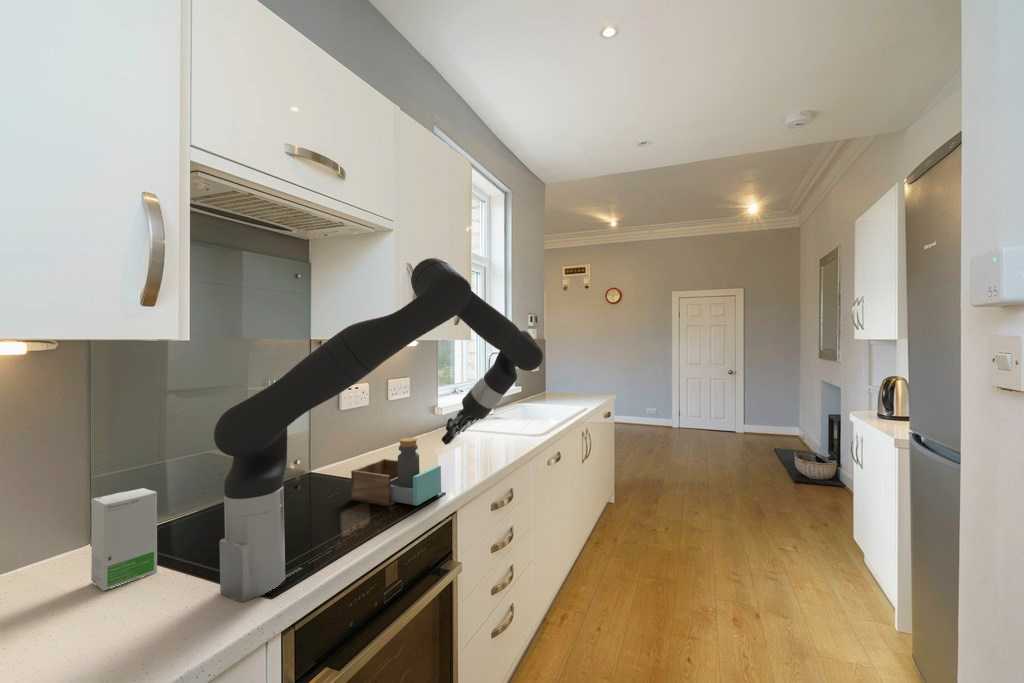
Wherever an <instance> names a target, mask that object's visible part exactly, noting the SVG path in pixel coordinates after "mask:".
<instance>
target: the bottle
mask: <svg viewBox="0 0 1024 683" xmlns="http://www.w3.org/2000/svg"><path fill="white" fill-rule="evenodd" d="M417 440H418V439H417V438H416V437H405V438H404V437H403V438H400V439H399V446H398V451H400V453H399V454H398V455H397V460H398V486H399V487H406V488H412V489H413V476H415V475H417V474H420V473H421V472H420V455H419V453H418V452H417V450H418V448H419V447H418V445H417Z"/></svg>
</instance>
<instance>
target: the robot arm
mask: <svg viewBox="0 0 1024 683" xmlns="http://www.w3.org/2000/svg"><path fill="white" fill-rule="evenodd" d="M410 276H411V277H410V284H411V289H412V290H413V292H414V294H415V296H416V297H415V298H414V299H413V300H411V301H410V302H409V303H407V304H406V305H404V306H403V307H402V308H400V309H399V310H396V311H394V312H393V313H390V314H387V315H384V316H380V317H376V318H375V317H374V318H372V319H366V320H362V321H360V322H356V323H352V324H351V325H348V326H346V327H345V328H343V329H342V330H341V331H339V332H337V333H336V334H334V336H332V337H331V338H329V339H328V340H326V341H325V342H324V343H322V344H321V345H319V347H317V348H316V349H315V350H313V351H312V352H310V354H308V355H306V357H304V359H302V360H301V361H299V362H298V363H297V364H295V366H293V367H292V368H291V369H290V370H288V372H286V373H285V374H284V375H283V376H282V377H281V378H279V379H278V380H276V381H274V382H273V383H272V384H270V385H269V386H268V387H266V388H264V389H262V390H261V391H259V392H257V393H255V394H254V395H252V396H250V397H249V398H246V399H244V400H243V401H241V402H239V403H238V404H235V405H234V406H232V407H230V408H229V409H227V410H226V411H225V412H223V414H221V416H220V417H219V419H218V421H217V422H216V424H215V427H214V432H213V441H214V444H215V446H216V447H217V449H218V450H219V451H220V452H221V453H223V454H225V455H227V456H230V457H233V460H232V463H231V467H230V469H229V472H227V473H228V474H227V475H226V478H225V479H224V483H223V489H224V490H223V492H224V494H223V495H224V496H223V498H224V500H223V501H224V538H223V537H222V539H220V540H219V581H220V582H219V583H220V584H219V586H220V587H219V589H220V593H219V594H220V595H222V596H224V597H227V598H230V599H233V600H235V601H238V602H241V603H243V602H246V601H248V600H251V599H254V598H257V597H261V596H264V595H266V594H265V593H267V592H269V591H271V590H272V589H275V588H276V587H278V586H279V585H280V584H281V583H282V582H283V581H284V582H285V579H286V556H285V554H286V553H285V552H286V551H285V550H286V548H285V547H286V546H285V544H286V543H285V542H286V541H285V501H284V499H285V496H284V495H285V494H284V492H285V490H284V489H285V488H284V478H285V473H286V469H287V464H288V462H287V461H288V427H289V426H290V425H292V424H293V423H294V422H295V421H296V420H297V419H299V418H300V417H302V416H304V414H306V413H307V412H309V411H310V410H312V409H314V408H317V406H319V405H321V404H323V403H325V402H327V401H329V400H331V399H332V398H334V397H335V396H338V395H339V394H342V392H344V391H346V390H347V389H350V387H352V386H354V385H355V384H356V383H358V382H359V381H361V380H362V379H364V378H365V377H366V376H368V375H369V374H371V373H372V372H373V371H374V370H375V369H377V368H378V367H379V366H381V365H382V364H383V363H384V362H386V361H387V360H389V359H390V358H392V357H393V356H394V355H396V354H398V352H400V351H402V350H403V349H405V348H406V347H407V346H409V345H410V344H411V343H413V342H414V341H416V340H418V339H420V338H421V337H422V336H424V335H426V334H428V333H429V332H431V331H433V330H434V329H436V328H437V327H439V326H441V325H443V324H444V323H446V322H448V321H450V320H451V319H452V318H454V317H455V316H456V317H457V318H459V319H460V320H461V321H462V322H464V323H465V324H466V326H468V327H469V328H470V329H471V330H472V331H473V332H474V333H475V334H476V335H477V336H479V337H480V338H482V339H483V340H484V341H485V342H486V343H487V344H489V345H491V346H492V347H494V348H495V349H497V350H499V352H498V354H497V356H496V358H495V360H494V363H493V365H492V366H490V368H489V369H488V371H486V372H485V374H484V375H483V376H482V377H481V378H480V379H479V380H478V381H477V382H476V383H475V384H474V385H473V387H471V389H470V390H469V391H468V392H467V394H466V395H465V396H464V397H463V399H462V401H461V405H462V409H460V410H459V411H458V412H457V413H456V415H455V417H454V418H452V417H450V418H448V419H447V423H446V426H445V430H446V432H445V434H444V435H443V436H442V437H441V442H442V443H443V444H444V445H449V444H451V443H452V442H453V441H454V439H455V438H456V437H457V436H459V435H460V434H461V433H464V432H465V431H467V429H469V428H471V426H473V425H474V424H475V423H476V422H478V421H479V420H484V419H485V418H486V417H487V416H488V415H489V414H490V413H491V412H492V411H493V409H494V408H495V407H497V405H498V404H499V403H500V402H501V400H502V399H503V397H504V395H505V394H506V393H507V392H508V391H509V390H510V388H512V386H513V385H514V384H515V383H516V381H517V378H518V375H517V371H516V367H517V368H518V369H520V370H521V371H525V372H530V371H531V372H532V371H535V370H536V369H538V368H539V367H540V366H541V364H542V363H543V359H544V354H543V350H542V349H541V347H540V346H539V345H538V343H537V342H536V341H535V339H534V338H533V336H532V335H531V334H530V332H528V331H526V330H522V329H519V328H518V326H517V325H516V324H515V323H514V322H512V321H511V320H510V319H509V318H507V317H506V315H504V314H502V313H501V312H500V311H499V310H498V309H497V308H494V307H493V306H492V305H490V304H489V303H488V302H487V301H485V300H483V298H481V297H480V296H478V295H477V294H476V293H475V292H474V291H473V290H472V286H471V284H470V282H469V280H468V279H466V278H465V276H463V274H462V273H460V271H459V270H458V269H456V268H455V266H454V265H453V264H451V263H450V262H448V261H447V260H445V259H442V258H438V257H429V258H426V259H423V260H421V261H420V262H419V263H418V264H417V265H415V267H414V268H413V270H412V272H411V275H410ZM284 582H283V583H284ZM283 583H282V584H283ZM282 584H281V585H282ZM281 585H280V586H281ZM280 586H279V587H280ZM279 587H278V588H279ZM276 589H277V588H276ZM276 589H275V590H276ZM271 592H272V591H271ZM269 593H270V592H269ZM267 594H268V593H267Z"/></svg>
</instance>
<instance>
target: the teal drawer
mask: <svg viewBox="0 0 1024 683" xmlns="http://www.w3.org/2000/svg"><path fill="white" fill-rule="evenodd" d="M441 468H442V465H434V466H432V467H431V468H429V469H426V470H424V471H422V472H420V474H417V475H415V476H413V489H412V488H406V487H399V486H398V477H396V478H394V479H392V480H390V494H391V501H394V502H396V503H399V504H400V503H401V504H405V505H412V506H419V505H421V504H423V503H424V502H427V501H428V500H430V499H432V498H433V497H435V496H437V495H438V494H440V493H442V469H441Z"/></svg>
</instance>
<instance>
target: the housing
mask: <svg viewBox="0 0 1024 683" xmlns="http://www.w3.org/2000/svg"><path fill="white" fill-rule="evenodd" d="M350 471H351V472H350V473H351V474H350V475H351V476H350V478H351V500H352V501H357V502H363V503H368V504H373V505H380V506H383V507H384V506H385V507H390V506H392V505H394V504H397V502H394V501H391V494H390V480H392V479H394V478H396V477H398V459H389V458H388V459H387V458H382V459H379V460H378V461H375V462H373V463H369V464H366V465H364V466H362V467H359V468H356V469H353V470H350Z"/></svg>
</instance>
